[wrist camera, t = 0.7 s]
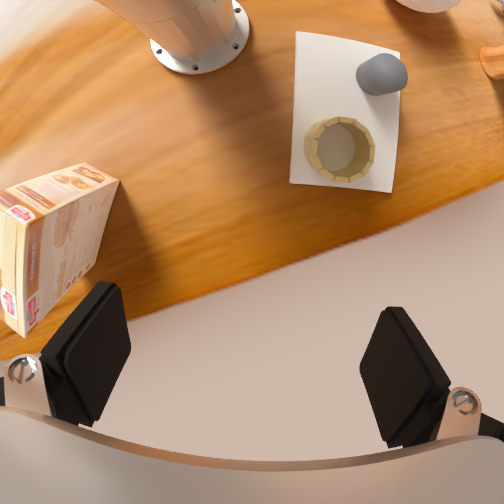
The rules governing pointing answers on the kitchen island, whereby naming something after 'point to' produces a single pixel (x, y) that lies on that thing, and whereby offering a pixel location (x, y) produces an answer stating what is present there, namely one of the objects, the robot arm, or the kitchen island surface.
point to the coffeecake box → (49, 239)
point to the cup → (430, 5)
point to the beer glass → (493, 61)
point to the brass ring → (362, 149)
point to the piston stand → (345, 107)
